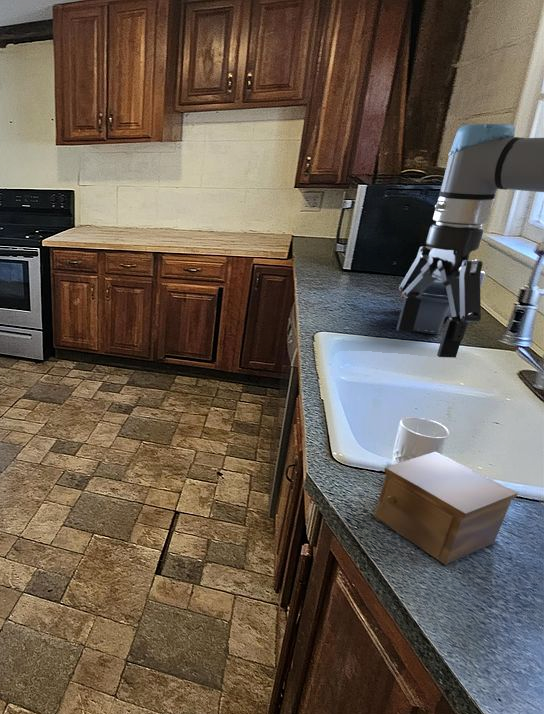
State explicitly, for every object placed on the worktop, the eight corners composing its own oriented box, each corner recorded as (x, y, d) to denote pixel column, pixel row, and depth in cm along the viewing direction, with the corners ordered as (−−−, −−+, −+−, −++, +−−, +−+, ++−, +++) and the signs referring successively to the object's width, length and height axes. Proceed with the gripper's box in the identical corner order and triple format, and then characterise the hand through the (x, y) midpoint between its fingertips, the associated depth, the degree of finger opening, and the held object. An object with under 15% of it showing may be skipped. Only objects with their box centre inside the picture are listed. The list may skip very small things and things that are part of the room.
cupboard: (497, 543, 84) (518, 492, 80) (441, 568, 79) (461, 515, 75) (420, 498, 94) (435, 451, 91) (366, 517, 89) (380, 468, 85)
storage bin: (447, 339, 173) (460, 296, 167) (393, 330, 180) (403, 289, 175) (445, 322, 189) (457, 283, 184) (395, 315, 197) (405, 277, 192)
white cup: (400, 456, 107) (413, 413, 103) (442, 476, 101) (458, 430, 97) (378, 467, 103) (391, 423, 99) (421, 489, 97) (436, 442, 93)
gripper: (396, 214, 100) (370, 321, 108) (483, 235, 77) (443, 368, 85) (437, 215, 100) (408, 322, 108) (537, 236, 77) (491, 370, 85)
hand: (423, 343), depth 97 cm, fingers open, 13 cm apart
